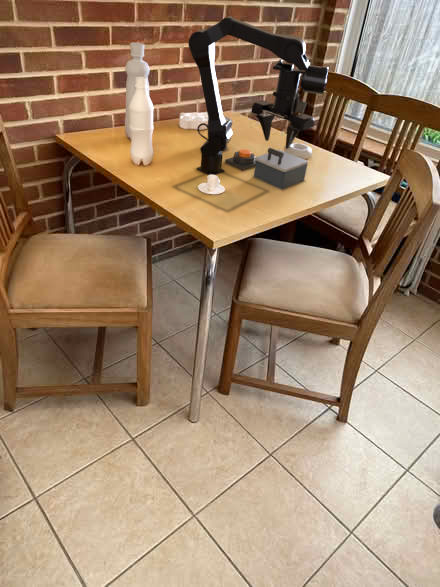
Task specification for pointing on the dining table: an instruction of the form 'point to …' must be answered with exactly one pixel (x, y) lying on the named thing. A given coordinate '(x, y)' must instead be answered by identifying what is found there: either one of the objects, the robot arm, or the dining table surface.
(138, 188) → the dining table surface
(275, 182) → the dark grey case
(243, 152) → the button
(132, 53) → the bottle
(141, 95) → the water bottle
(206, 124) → the coffee mug
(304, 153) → the donut
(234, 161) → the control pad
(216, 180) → the teacup and saucer
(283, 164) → the grey box lid
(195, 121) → the white egg tray
